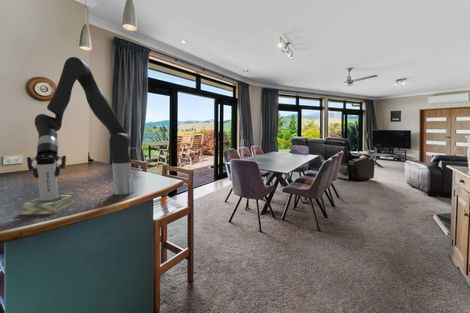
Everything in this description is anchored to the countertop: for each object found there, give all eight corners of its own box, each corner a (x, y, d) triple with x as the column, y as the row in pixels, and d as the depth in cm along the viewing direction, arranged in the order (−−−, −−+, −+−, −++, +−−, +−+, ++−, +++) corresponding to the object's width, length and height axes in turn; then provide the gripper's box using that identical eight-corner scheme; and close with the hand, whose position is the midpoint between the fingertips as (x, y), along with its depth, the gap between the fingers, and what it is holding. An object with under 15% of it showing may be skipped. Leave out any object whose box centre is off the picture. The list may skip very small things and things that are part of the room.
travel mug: (46, 198, 104) (42, 155, 102) (61, 198, 105) (58, 155, 102) (35, 202, 98) (31, 156, 96) (51, 202, 99) (47, 156, 96)
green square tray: (76, 203, 109) (75, 194, 109) (55, 213, 95) (54, 204, 95) (45, 203, 108) (45, 195, 108) (20, 214, 94) (19, 204, 94)
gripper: (25, 142, 101) (22, 173, 92) (65, 141, 109) (66, 169, 100) (29, 153, 106) (26, 183, 97) (67, 151, 114) (68, 179, 105)
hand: (46, 176), depth 99 cm, fingers closed on travel mug, 6 cm apart
